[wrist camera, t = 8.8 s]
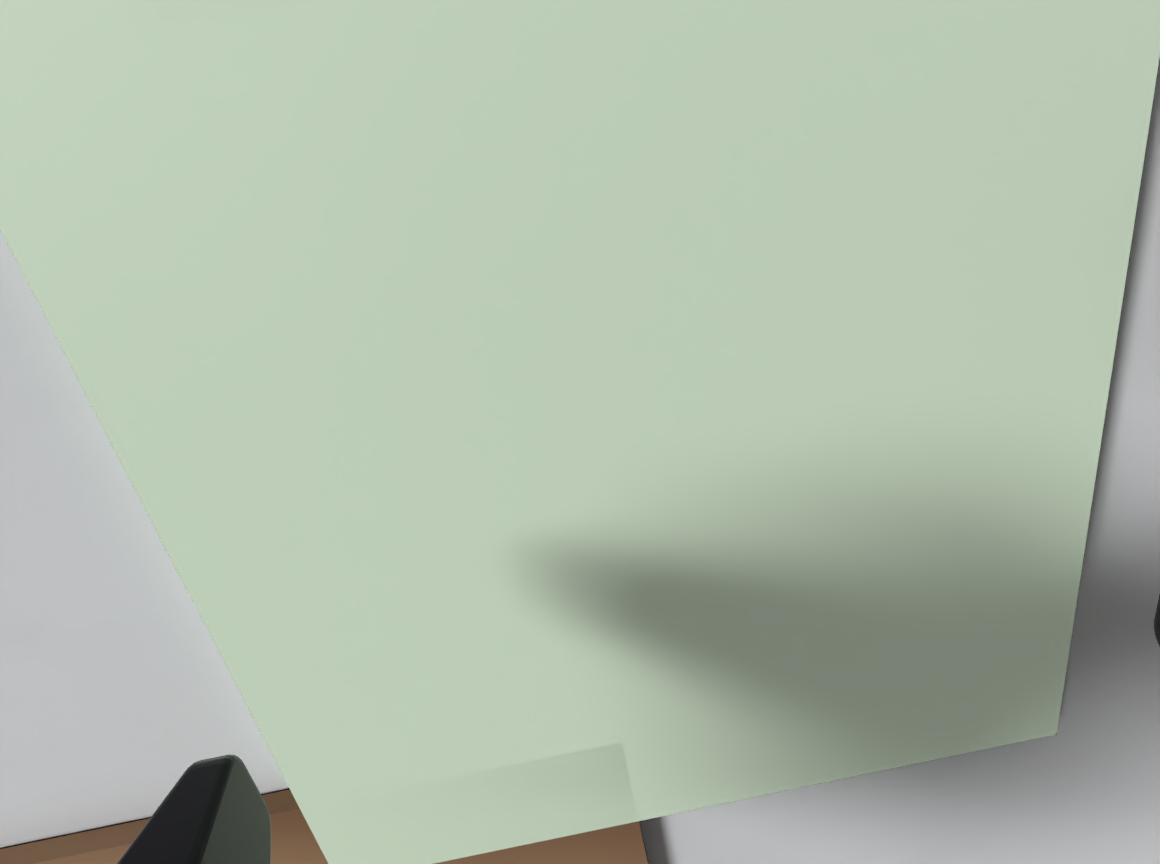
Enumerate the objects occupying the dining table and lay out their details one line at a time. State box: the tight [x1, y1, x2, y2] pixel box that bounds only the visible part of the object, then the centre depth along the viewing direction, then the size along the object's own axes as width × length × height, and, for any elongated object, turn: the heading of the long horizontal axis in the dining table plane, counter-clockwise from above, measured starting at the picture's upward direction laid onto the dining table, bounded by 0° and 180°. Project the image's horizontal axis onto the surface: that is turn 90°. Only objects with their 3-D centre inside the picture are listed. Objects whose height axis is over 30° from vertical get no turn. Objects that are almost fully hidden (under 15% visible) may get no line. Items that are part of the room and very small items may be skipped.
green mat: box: [0, 0, 1160, 864], centre depth 13 cm, size 14×12×1 cm
